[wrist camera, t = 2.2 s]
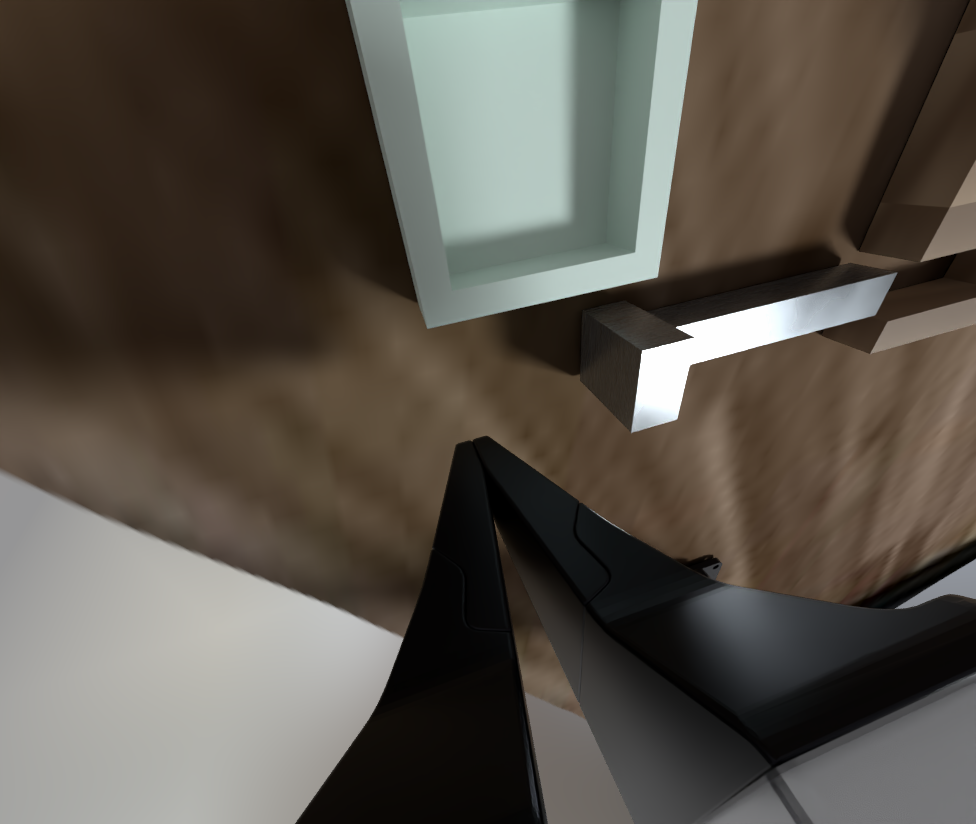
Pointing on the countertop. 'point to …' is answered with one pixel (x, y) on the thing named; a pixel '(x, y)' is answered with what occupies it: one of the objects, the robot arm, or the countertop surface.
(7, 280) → the countertop surface
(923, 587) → the countertop surface
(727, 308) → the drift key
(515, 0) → the tray
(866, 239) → the socket block
